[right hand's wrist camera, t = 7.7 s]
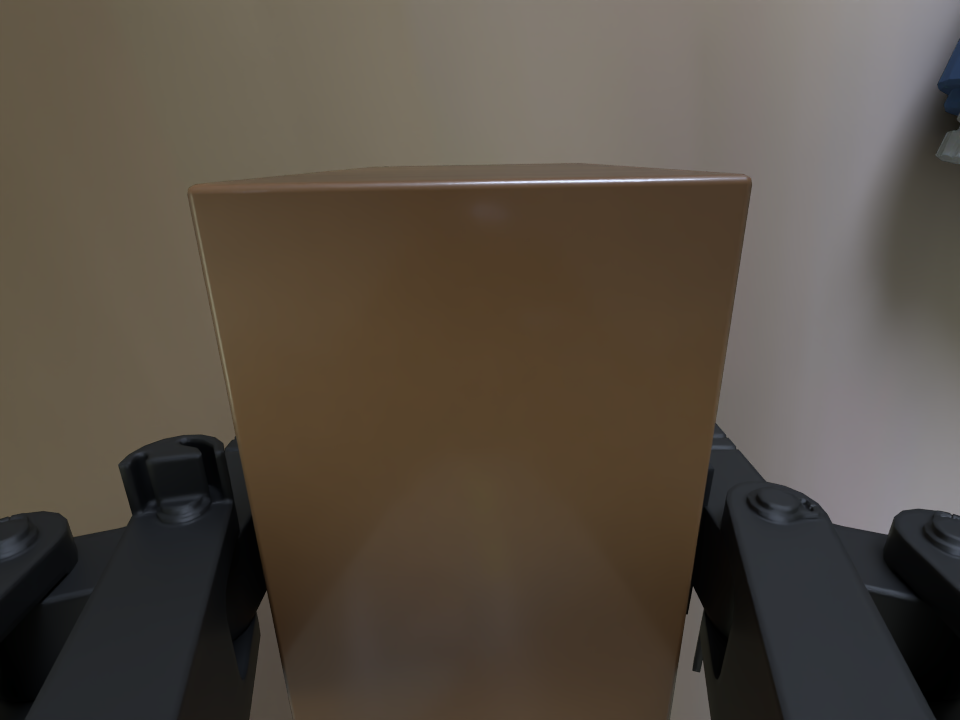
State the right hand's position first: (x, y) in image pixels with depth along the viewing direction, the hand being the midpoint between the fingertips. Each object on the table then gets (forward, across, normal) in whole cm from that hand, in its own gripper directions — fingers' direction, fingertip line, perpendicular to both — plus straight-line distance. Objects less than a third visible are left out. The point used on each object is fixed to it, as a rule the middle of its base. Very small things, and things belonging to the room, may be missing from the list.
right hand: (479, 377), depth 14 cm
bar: (0, 0, -27) cm, 27 cm away
